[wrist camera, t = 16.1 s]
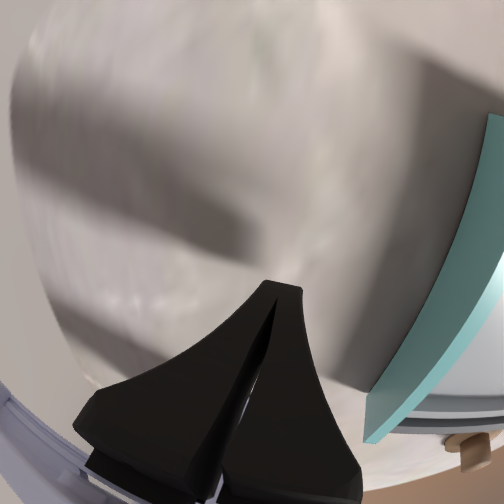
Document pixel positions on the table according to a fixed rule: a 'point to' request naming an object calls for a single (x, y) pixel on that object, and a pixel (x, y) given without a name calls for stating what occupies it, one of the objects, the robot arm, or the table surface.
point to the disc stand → (472, 448)
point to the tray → (455, 319)
